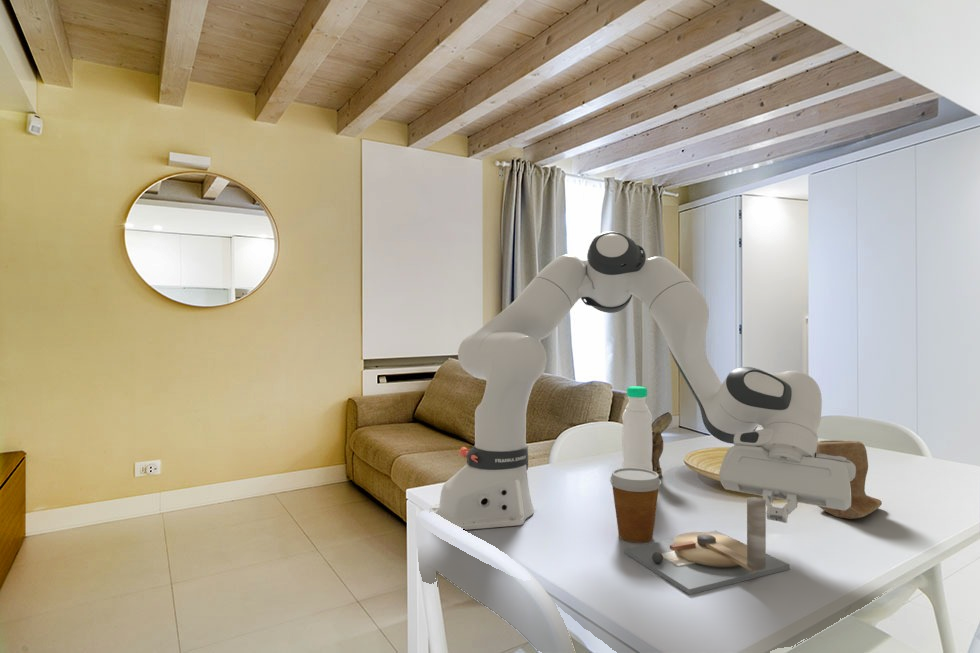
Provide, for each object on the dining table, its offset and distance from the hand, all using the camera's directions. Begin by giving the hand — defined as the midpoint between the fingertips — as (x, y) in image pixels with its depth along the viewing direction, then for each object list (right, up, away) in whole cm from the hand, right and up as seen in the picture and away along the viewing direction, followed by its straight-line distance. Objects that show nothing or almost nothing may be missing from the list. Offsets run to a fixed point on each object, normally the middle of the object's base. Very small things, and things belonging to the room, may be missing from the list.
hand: (776, 519), depth 92 cm
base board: (-11, -8, +2) cm, 14 cm away
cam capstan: (-10, -7, 0) cm, 12 cm away
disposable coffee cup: (-20, -8, +13) cm, 25 cm away
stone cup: (+28, -7, +27) cm, 40 cm away
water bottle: (-12, -8, +41) cm, 44 cm away
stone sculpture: (-6, -7, +53) cm, 54 cm away
